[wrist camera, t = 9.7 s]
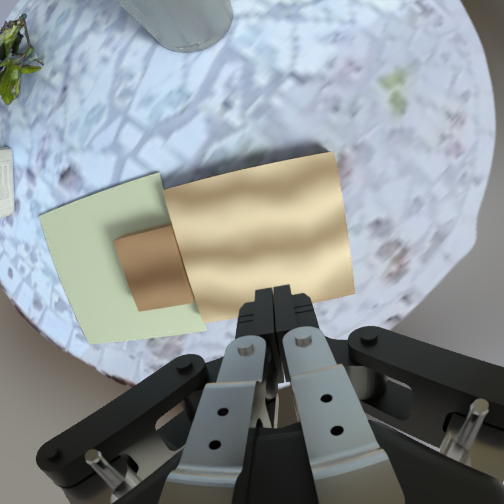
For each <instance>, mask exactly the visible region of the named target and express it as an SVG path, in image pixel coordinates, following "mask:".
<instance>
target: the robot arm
mask: <svg viewBox="0 0 504 504" xmlns="http://www.w3.org/2000/svg"><path fill="white" fill-rule="evenodd" d="M115 1H116V2H117V3H118V4H119V5H120V6H121V7H123V8H124V9H125V10H126V11H127V12H128V13H129V14H130V15H131V16H132V17H133V18H134V19H136V20H137V21H138V22H139V23H140V24H141V25H142V26H143V27H144V28H145V29H146V30H147V31H148V32H149V33H150V34H151V35H152V36H153V37H154V38H155V39H156V40H157V41H158V42H159V43H160V44H161V45H162V46H164V47H165V48H167V49H169V50H172V51H174V52H181V53H191V52H196V51H201V50H203V49H206V48H208V47H210V46H212V45H214V44H215V43H217V42H218V41H219V40H220V39H222V38H223V36H224V35H225V34H226V33H227V32H228V30H229V28H230V26H231V23H232V19H233V11H232V7H231V2H230V0H115ZM273 292H274V294H273ZM283 369H284V372H283ZM284 374H285V379H286V382H290V384H291V389H292V395H293V400H294V405H295V409H296V414H297V419H298V422H297V423H294V424H292V425H289V426H286V427H283V428H277V416H278V400H279V399H278V394H277V392H278V383H284ZM387 377H391V378H393V379H395V380H398V381H400V382H402V383H405V384H407V385H408V386H409V387H410V388H411V389H412V390H410V389H408V388H406V387H403V386H401V385H399V384H396V383H394V382H392V381H389V380H387ZM178 403H181V405H182V407H183V409H184V410H183V411H182V412H181V413H179V414H178V415H177V416H175V417H174V418H173V419H171V420H170V421H169V422H167V423H166V424H165V425H164V426H162V427H161V428H160V429H158V430H157V431H156V429H155V424H156V421H157V420H158V419H159V418H160V417H161V416H163V415H164V414H165V413H167V412H168V411H169V410H171V409H172V408H173V407H175V406H176V405H177V404H178ZM364 412H365V413H367V414H369V415H371V416H373V417H375V418H377V419H379V420H381V421H383V422H385V423H387V424H389V425H391V426H393V427H395V428H397V429H399V430H401V431H403V432H405V433H407V434H409V435H412V436H413V437H416V438H418V439H420V440H422V441H424V442H427V443H429V444H431V445H433V446H436V447H438V448H440V452H437V451H435V450H433V449H431V448H429V447H427V446H425V445H423V444H421V443H419V442H418V441H415V440H413V439H412V438H410V437H407V436H406V435H404V434H402V433H400V432H398V431H397V430H395V429H393V428H391V427H389V426H387V425H385V424H382V423H379V422H376V421H372V420H367V418H366V415H365V413H364ZM36 462H37V465H38V466H39V468H40V469H41V470H42V471H43V472H44V473H45V474H46V475H47V476H48V477H49V478H51V479H52V480H53V482H54V483H55V484H56V485H57V486H58V487H59V488H60V489H61V490H62V491H63V492H64V493H65V495H66V497H67V498H68V500H69V502H70V504H504V485H503V484H502V483H503V481H504V367H501V366H498V365H494V364H491V363H487V362H485V361H481V360H478V359H475V358H471V357H468V356H465V355H462V354H459V353H456V352H453V351H450V350H446V349H443V348H440V347H437V346H434V345H431V344H428V343H425V342H422V341H419V340H416V339H413V338H410V337H407V336H404V335H401V334H398V333H395V332H392V331H389V330H386V329H383V328H380V327H376V326H366V327H361V328H358V329H356V330H354V331H353V332H352V333H351V334H350V335H349V337H348V340H336V339H331V338H328V337H326V336H324V334H323V332H322V331H321V330H320V329H319V325H318V322H317V318H316V315H315V312H314V308H313V305H312V301H311V298H310V297H309V296H308V295H306V294H305V293H300V294H294V295H292V294H291V288H290V284H287V285H281V286H275V287H273V289H272V287H270V288H264V289H258V290H255V301H254V302H247V303H244V305H243V306H242V307H241V308H240V309H239V315H238V323H237V329H236V336H235V340H233V341H232V342H231V343H230V344H229V345H228V346H227V348H226V351H225V354H224V356H223V357H221V358H219V359H216V360H213V361H210V362H207V363H205V361H204V359H203V358H202V357H201V356H199V355H196V354H187V355H182V356H179V357H177V358H175V359H173V360H172V361H171V362H169V363H168V364H166V365H165V366H163V367H162V368H160V369H159V370H157V371H156V372H155V373H153V374H152V375H150V376H149V377H147V378H146V379H144V380H143V381H141V382H140V383H138V384H137V385H135V386H134V387H132V388H131V389H129V390H128V391H126V392H125V393H123V394H122V395H120V396H119V397H117V398H116V399H114V400H113V401H111V402H110V403H108V404H107V405H105V406H103V407H102V408H100V409H99V410H98V411H96V412H94V413H93V414H91V415H89V416H88V417H86V418H85V419H83V420H82V421H80V422H78V423H77V424H75V425H74V426H72V427H70V428H69V429H67V430H66V431H64V432H62V433H61V434H59V435H57V436H56V437H54V438H53V439H51V440H50V441H48V442H46V443H45V444H44V445H42V447H40V449H39V450H38V452H37V456H36Z"/></svg>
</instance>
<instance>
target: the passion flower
mask: <svg viewBox="0 0 504 504" xmlns="http://www.w3.org/2000/svg"><path fill="white" fill-rule="evenodd" d="M26 17H27V15H26V14H22V15H21V17H19V19H18V20H16V21H11V20H10V21H9V22H8V23H7V21H5V23H4V25H3V27H2V28H1V30H0V71H1V70H2V68H3V66H6V67H5V69H4V71H2V72H1V73H0V95H1V98H2V99H3V101H4V102H5V103H6V104H7V105H9V104H11V103H12V101H13V100H14V99H16V98H17V97H18V95H19V92H20V75H21V72H22V73H24V74H26V73H34V72H36V71H38V70H40V69H41V67H37V66H30V65H28V64H26V61H27V60H28V61H34V60H37V61H38V62H40V63H41V64H42V65H44V64H43V63H42V61H41V60H40V59H39V58H38V56H37V55H36V53H35V51H34V47H33V46H32V45H31V44H30V41H29V37H28V32H27V27H26V22H25V19H26ZM23 26H24V27H25V35H26V38H27V42H28V49H27V51H26V52H25V53H23V54H16V53H17V51H18V48H19V44H20V42H21V40H22V38H23V37H24V36H23V34H21V33H20V31H19V30H20V29H21V28H22V27H23ZM14 55H21V57H20V58H18V59H13V57H12V56H14ZM25 56H26V58H25V60H24V61H23V63H21V64H20V60H21V59H22V58H23V57H25ZM5 58H6V59H5Z"/></svg>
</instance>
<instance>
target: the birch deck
mask: <svg viewBox="0 0 504 504" xmlns="http://www.w3.org/2000/svg"><path fill="white" fill-rule="evenodd" d="M163 194H164V197H165V201H166V205H167V208H168V212H169V215H170V219H171V222H172V226H173V229H174V233H175V236H176V240H177V243H178V246H179V250H180V253H181V256H182V260H183V263H184V266H185V269H186V272H187V276H188V279H189V282H190V285H191V288H192V291H193V294H194V297H195V300H196V303H197V306H198V309H199V312H200V315H201V318H202V321H203V323H209V322H215V321H221V320H227V319H233V318H238V315H239V309H240V308H241V307H242V306H243V305H244V303H247V302H254V301H255V290H258V289H264V288H270V287H272V289H273V287H275V286H281V285H287V284H290V288H291V294H292V295H294V294H300V293H305V294H306V295H308V296H309V297H310V298H311V301H312V303H316V302H321V301H325V300H330V299H334V298H339V297H343V296H347V295H352V294H355V289H354V279H353V270H352V261H351V253H350V245H349V238H348V231H347V224H346V217H345V211H344V205H343V199H342V193H341V187H340V181H339V176H338V171H337V165H336V160H335V155H334V152H325V153H319V154H313V155H308V156H303V157H297V158H292V159H287V160H282V161H277V162H273V163H268V164H263V165H259V166H254V167H250V168H245V169H241V170H237V171H232V172H228V173H224V174H220V175H216V176H212V177H208V178H204V179H200V180H196V181H193V182H189V183H185V184H181V185H178V186H174V187H171V188H167V189H165V190H163ZM273 294H274V292H273Z"/></svg>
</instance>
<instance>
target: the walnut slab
mask: <svg viewBox="0 0 504 504" xmlns="http://www.w3.org/2000/svg"><path fill="white" fill-rule="evenodd" d="M113 242H114V245H115V249H116V252H117V255H118V257H119V260H120V263H121V266H122V269H123V272H124V275H125V277H126V280H127V283H128V286H129V288H130V291H131V294H132V296H133V299H134V301H135V304H136V306H137V309H138V311H139V312H141V311H147V310H154V309H160V308H166V307H172V306H179V305H185V304H190V303H193V301H194V298H195V297H194V294H193V291H192V288H191V285H190V282H189V279H188V276H187V272H186V269H185V266H184V263H183V260H182V256H181V253H180V250H179V246H178V243H177V240H176V236H175V233H174V229H173V226H172V222H169V223H165V224H161V225H158V226H154V227H150V228H146V229H142V230H138V231H135V232H131V233H127V234H123V235H121V236H120V237H118V238H116V239H115V240H113Z"/></svg>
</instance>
